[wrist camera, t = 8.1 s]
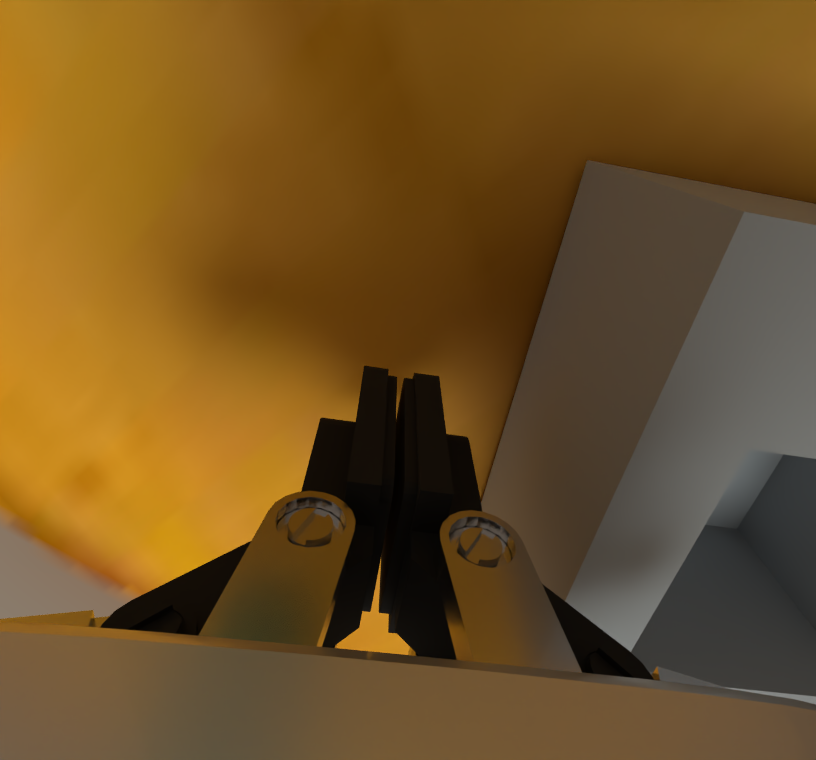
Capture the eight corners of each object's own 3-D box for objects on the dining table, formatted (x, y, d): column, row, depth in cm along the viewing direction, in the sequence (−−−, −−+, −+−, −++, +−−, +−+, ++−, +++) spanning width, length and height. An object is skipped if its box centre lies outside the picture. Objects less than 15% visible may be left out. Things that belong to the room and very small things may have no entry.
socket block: (587, 160, 11) (744, 211, 6) (954, 230, 12) (1371, 329, 7) (465, 551, 17) (493, 755, 12) (723, 582, 18) (858, 786, 13)
